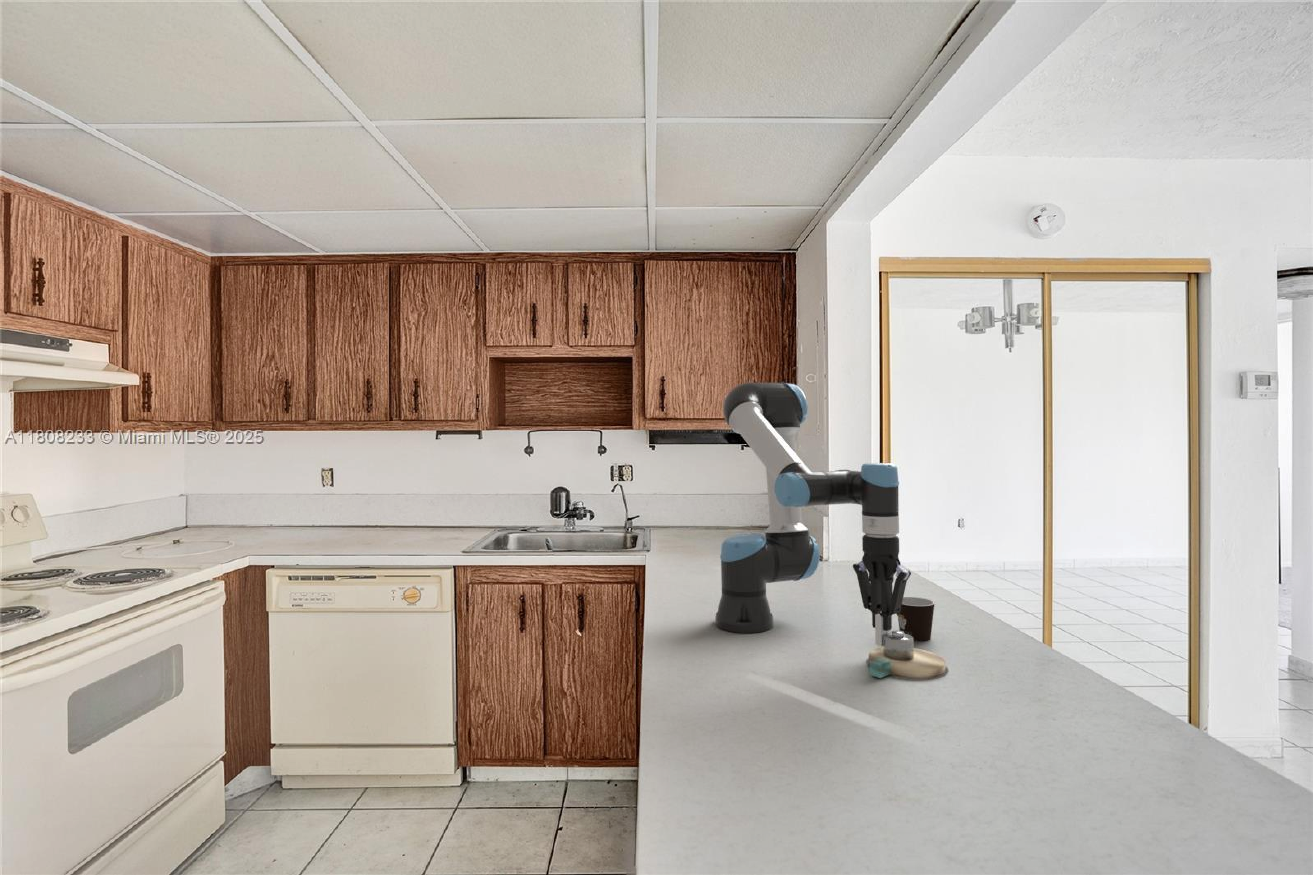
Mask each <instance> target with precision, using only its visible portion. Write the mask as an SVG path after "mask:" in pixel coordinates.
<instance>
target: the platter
mask: <svg viewBox="0 0 1313 875" xmlns="http://www.w3.org/2000/svg"><path fill="white" fill-rule="evenodd" d="M868 658H869V665H870V667H869V675H870V676H872V677H875V678H879V679H882V678H884V677H886V676H887V675H892V676H896V677H902V678H911V679H928V678H935V677H938V676H941V675H943V674H944V673H945V671H946V666H947V665H946V664H947V663H946V660H945V659H944V658H943V657H942V656H941V655H939V654H937V653H935V652H931V651H928V650H924V649H919V648H915V647H914V658H913V659H912V660H907V661H899V660H893V659H889V658H887V657H885V656H884V655H883V646H881V647H878V648H874V649H872V650H870V651H869V653H868Z"/></svg>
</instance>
